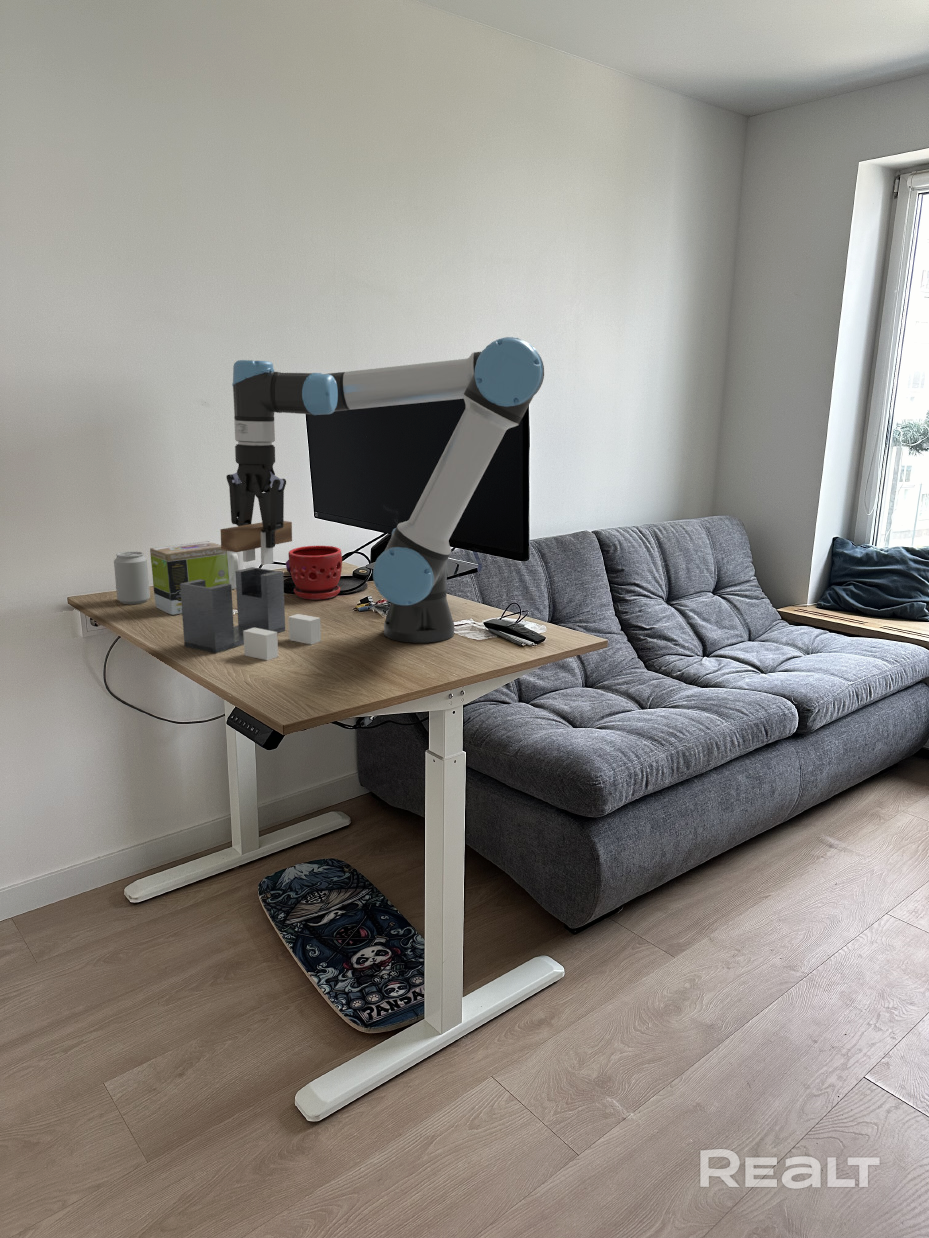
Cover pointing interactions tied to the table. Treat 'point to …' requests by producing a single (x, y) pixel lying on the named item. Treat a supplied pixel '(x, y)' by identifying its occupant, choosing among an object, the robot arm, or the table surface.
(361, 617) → the table surface
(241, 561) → the mug
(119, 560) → the can
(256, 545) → the rail
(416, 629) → the robot arm
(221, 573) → the tea box
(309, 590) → the plant pot
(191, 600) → the brackets
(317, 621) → the blocks
